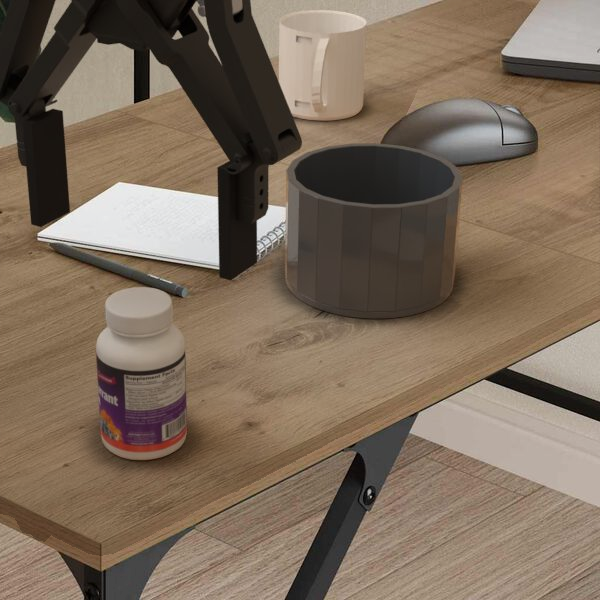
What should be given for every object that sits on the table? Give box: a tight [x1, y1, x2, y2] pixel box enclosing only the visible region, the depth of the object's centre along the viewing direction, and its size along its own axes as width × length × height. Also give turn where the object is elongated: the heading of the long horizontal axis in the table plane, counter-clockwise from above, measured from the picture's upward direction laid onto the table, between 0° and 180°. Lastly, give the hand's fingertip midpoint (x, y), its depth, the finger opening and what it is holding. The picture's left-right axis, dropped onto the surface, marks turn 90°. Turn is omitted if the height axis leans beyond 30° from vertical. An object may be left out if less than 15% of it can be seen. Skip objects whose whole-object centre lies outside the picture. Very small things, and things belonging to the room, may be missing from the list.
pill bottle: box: [95, 286, 188, 461], centre depth 82 cm, size 5×5×10 cm
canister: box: [284, 142, 464, 320], centre depth 103 cm, size 13×13×9 cm
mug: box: [278, 9, 368, 122], centre depth 139 cm, size 12×9×9 cm
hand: (140, 243), depth 78 cm, fingers open, 13 cm apart
